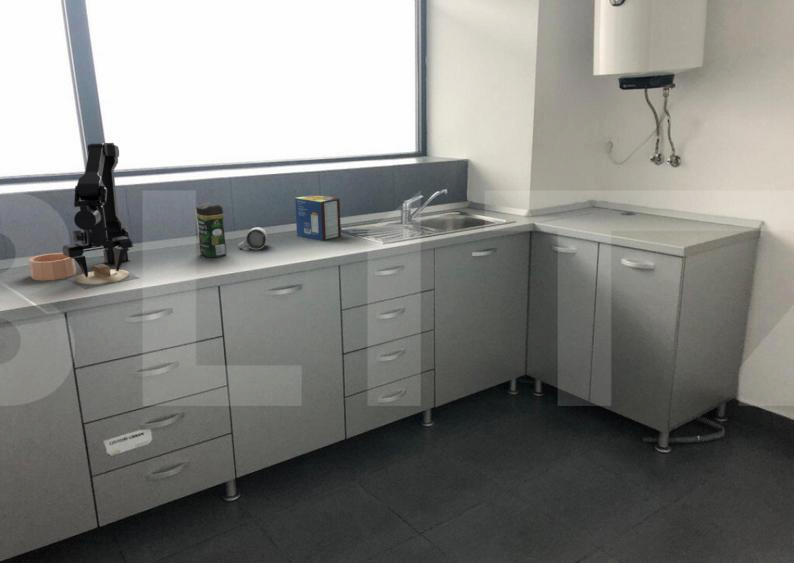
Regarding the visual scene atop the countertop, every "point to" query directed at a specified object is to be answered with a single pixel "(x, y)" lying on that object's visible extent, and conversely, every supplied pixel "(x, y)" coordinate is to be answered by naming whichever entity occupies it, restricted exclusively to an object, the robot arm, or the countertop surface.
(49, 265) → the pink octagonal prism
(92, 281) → the lid
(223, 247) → the coffee jar
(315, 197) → the protein box
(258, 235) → the ceramic mug
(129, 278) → the mat
